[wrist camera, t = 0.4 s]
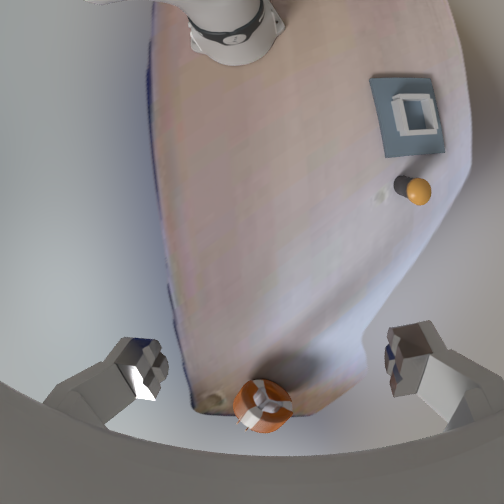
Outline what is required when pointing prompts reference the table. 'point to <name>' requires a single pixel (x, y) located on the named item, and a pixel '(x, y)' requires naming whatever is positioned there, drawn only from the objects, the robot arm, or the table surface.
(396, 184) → the knob
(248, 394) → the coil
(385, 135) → the mount
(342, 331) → the table surface
